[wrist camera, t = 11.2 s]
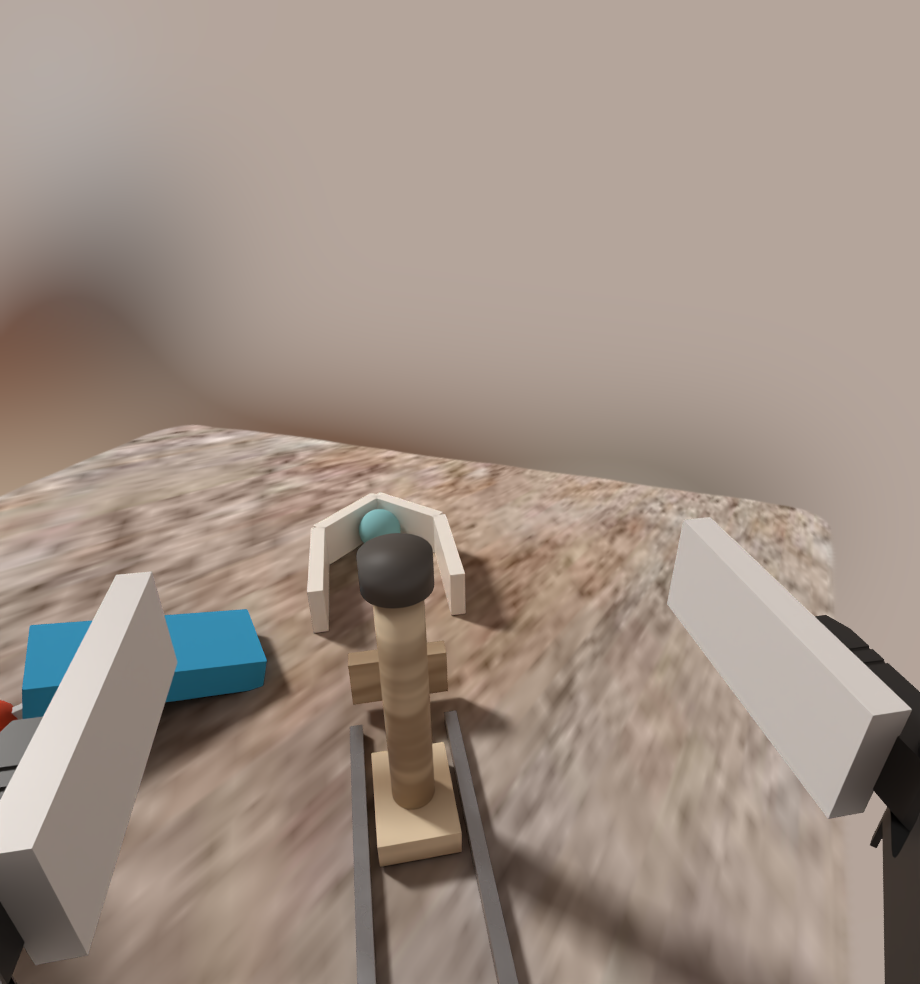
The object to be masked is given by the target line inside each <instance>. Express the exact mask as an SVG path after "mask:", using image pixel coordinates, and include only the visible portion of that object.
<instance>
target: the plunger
mask: <svg viewBox="0 0 920 984" xmlns="http://www.w3.org/2000/svg"><path fill="white" fill-rule="evenodd" d="M356 558H357V567H358V576H359V584H360V592H361V595H362V597H363V598H364V599H365V600H366V601H367V602H369V603H370V604H372V605H373V612H374V622H375V631H376V641H377V650H370V651H363V652H355V653H348V668H349V676H350V683H351V691H352V698H353V705H355V704H362V703H369V702H376V701H383V710H384V720H385V729H386V739H387V749H388V751H382V752H376V753H371V756H372V772H373V787H374V802H375V818H376V833H377V848H378V856H379V864H380V867H382V866H387V865H393V864H398V863H403V862H409V861H414V860H420V859H425V858H430V857H436V856H441V855H447V854H452V853H457V852H462V834H461V827H460V822H459V817H458V812H457V807H456V802H455V797H454V791H453V786H452V781H451V776H450V771H449V766H448V761H447V755H446V750H445V745H444V742H439V743H433V744H432V730H431V712H430V693H437V692H444V691H448V683H447V657H446V649H445V645H444V641H437V642H430V643H427V640H426V623H425V605H424V599H426V598H427V597H428V596H429V595H430V594H431V593H432V591H433V588H434V568H433V550H432V546H431V545H430V543H429V542H428V541H427V540H425V539H424V538H422V537H419V536H416V535H413V534H407V533H391V534H385V535H381V536H377V537H375V538H372V539H370V540H368V541H367V542H365V543H364V544H363V545H362V546H361V547H360V548H359V549H358V551H357V555H356Z"/></svg>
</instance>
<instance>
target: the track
mask: <svg viewBox="0 0 920 984" xmlns="http://www.w3.org/2000/svg"><path fill="white" fill-rule="evenodd" d="M444 719H445V726H446V731H447V735H448V740H449V745H450V750H451V755H452V760H453V765H454V770H455V775H456V780H457V785H458V790H459V795H460V800H461V805H462V809H463V814H464V819H465V824H466V829H467V834H468V839H469V844H470V849H471V854H472V859H473V864H474V869H475V874H476V878H477V883H478V888H479V893H480V898H481V903H482V908H483V913H484V918H485V923H486V928H487V933H488V938H489V943H490V947H491V952H492V957H493V962H494V967H495V972H496V977H497V982H498V984H518V980H517V975H516V971H515V966H514V962H513V958H512V953H511V949H510V945H509V940H508V936H507V931H506V927H505V923H504V918H503V914H502V910H501V905H500V901H499V896H498V892H497V888H496V883H495V879H494V874H493V870H492V866H491V861H490V857H489V853H488V848H487V844H486V839H485V835H484V831H483V826H482V822H481V817H480V813H479V809H478V804H477V800H476V796H475V791H474V787H473V782H472V778H471V774H470V769H469V765H468V761H467V756H466V752H465V747H464V743H463V739H462V734H461V730H460V725H459V721H458V717H457V712H456V711H450V712H444ZM350 751H351V785H352V819H353V853H354V886H355V920H356V954H357V984H377V981H376V962H375V944H374V925H373V906H372V887H371V869H370V850H369V831H368V812H367V793H366V775H365V756H364V737H363V727H362V725H357V726H351V727H350Z"/></svg>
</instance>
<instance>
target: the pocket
mask: <svg viewBox="0 0 920 984" xmlns="http://www.w3.org/2000/svg"><path fill="white" fill-rule="evenodd" d="M375 509H384V510H387V511H390V512H391V513H393V514H394V515H395V516H396V518H397V519H398V521H399V523H400V533H407V534H413V535H416V536H419V537H422V538H424V539H425V540H427V541H428V542H429V543H430V545H431V546H432V550H433V552H434V553H435V556H436V559H437V563H438V567H439V571H440V574H441V578H442V582H443V586H444V589H445V593H446V597H447V601H448V604H449V608H450V612H451V615H458V614H465V613H466V605H465V572H464V569H463V566H462V563H461V560H460V557H459V554H458V551H457V548H456V545H455V542H454V539H453V536H452V533H451V530H450V527H449V524H448V520H447V517H446V514H443V512H441V511H438V510H435V509H431V508H428V507H425V506H422V505H419V504H416V503H413V502H410V501H406V500H403V499H400V498H397V497H394V496H391V495H388V494H384V493H381V492H379V493H378V494H373V493H370V494H368V495H367V496H365V497H363V498H361V499H360V500H358V501H356V502H354V503H352V504H351V505H349V506H347V507H345V508H344V509H342V510H340V511H338V512H336V513H335V514H333V515H331V516H329V517H328V518H326V519H324V520H322V521H320V522H319V523H317V524H315V525H314V528H311V539H310V555H309V570H308V586H307V595H308V601H309V607H310V613H311V620H312V626H313V632H314V633H318V632H325V631H329V565H330V564H331V563H333V562H335V561H336V560H338V559H339V558H341V557H342V556H344V555H346V554H347V553H349V552H350V551H352V550H353V549H355V548H356V547H358V546H360V545H361V544H363V542H362V540H361V538H360V535H359V525H360V522H361V520H362V518H363V517H364V516H365V515H366V514H367V513H368V512H370V511H372V510H375Z"/></svg>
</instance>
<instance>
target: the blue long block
mask: <svg viewBox="0 0 920 984" xmlns="http://www.w3.org/2000/svg"><path fill="white" fill-rule="evenodd" d="M164 616H165V620H166V623H167V627H168V630H169V634H170V637H171V641H172V645H173V648H174V652H175V655H176V659H177V665H176V669H175V672H174V675H173V678H172V682H171V685H170V688H169V692H168V695H167V698H166V701H165V702H171V701H178V700H185V699H193V698H200V697H207V696H214V695H221V694H228V693H235V692H243V691H250V690H253V689H255V688H258V687H261V686H263V683H264V677H265V670H266V663H267V659H266V657H265V654H264V652H263V649H262V646H261V644H260V641H259V639H258V636H257V633H256V631H255V628H254V626H253V623H252V620H251V618H250V615H249V613H248V610H247V609H244V610H230V611H217V612H203V613H190V614H176V615H164ZM91 623H92V621H82V622H68V623H55V624H41V625H31V626H30V629H29V637H28V645H27V654H26V662H25V670H24V678H23V687H22V703H21V704H19V705H17V706H15V707H14V706H13V705H11V704H10V703H8V702H5V701H1V700H0V732H1V731H2V730H3V729H4V728H5V727H6V726H7V725H8V724H9V723H10V722H11V721H13V720H20V719H28V718H36V717H43V716H44V714H45V712H46V710H47V708H48V706H49V704H50V703H51V701H52V699H53V697H54V695H55V693H56V691H57V689H58V687H59V685H60V683H61V681H62V679H63V677H64V675H65V673H66V672H67V670H68V668H69V666H70V664H71V662H72V660H73V658H74V656H75V654H76V652H77V650H78V648H79V646H80V644H81V642H82V640H83V639H84V637H85V635H86V633H87V631H88V629H89V627H90V625H91Z"/></svg>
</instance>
